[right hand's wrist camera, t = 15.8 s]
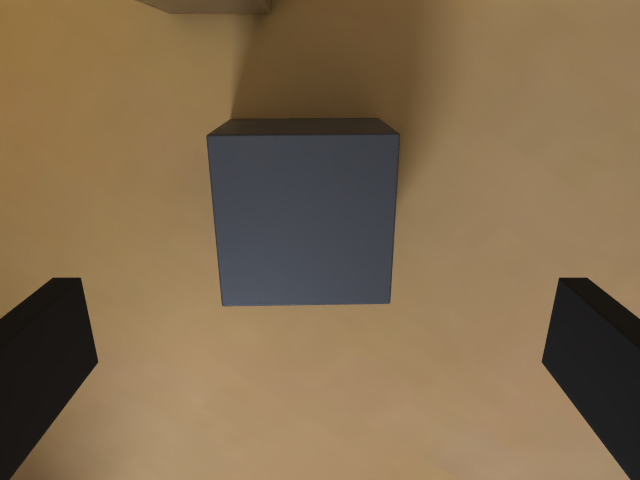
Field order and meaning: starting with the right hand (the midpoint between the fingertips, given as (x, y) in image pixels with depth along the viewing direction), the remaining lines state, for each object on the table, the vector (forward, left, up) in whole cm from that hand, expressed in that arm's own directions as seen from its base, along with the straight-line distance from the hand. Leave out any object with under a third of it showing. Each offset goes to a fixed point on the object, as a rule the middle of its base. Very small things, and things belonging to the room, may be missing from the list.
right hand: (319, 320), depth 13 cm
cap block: (0, 0, -14) cm, 14 cm away
